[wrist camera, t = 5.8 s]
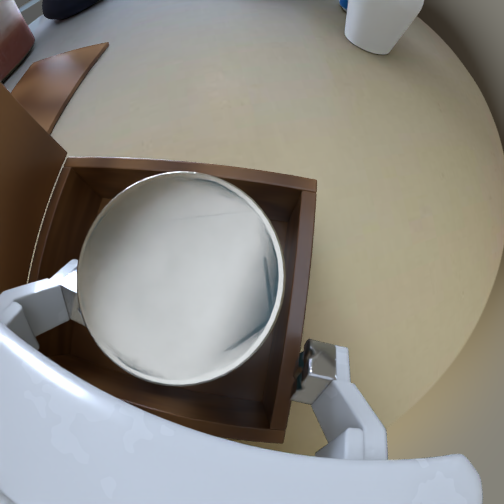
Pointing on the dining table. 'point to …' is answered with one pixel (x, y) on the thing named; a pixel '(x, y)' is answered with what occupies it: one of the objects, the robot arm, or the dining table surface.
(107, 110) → the dining table surface
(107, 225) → the tea tin
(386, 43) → the cup
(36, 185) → the chest lid
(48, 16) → the teapot
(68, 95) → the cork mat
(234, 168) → the chest
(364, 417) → the robot arm
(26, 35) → the planter
